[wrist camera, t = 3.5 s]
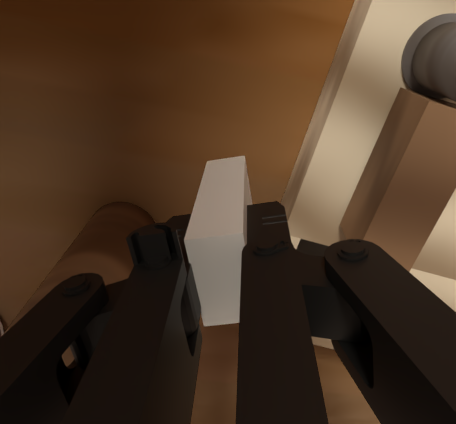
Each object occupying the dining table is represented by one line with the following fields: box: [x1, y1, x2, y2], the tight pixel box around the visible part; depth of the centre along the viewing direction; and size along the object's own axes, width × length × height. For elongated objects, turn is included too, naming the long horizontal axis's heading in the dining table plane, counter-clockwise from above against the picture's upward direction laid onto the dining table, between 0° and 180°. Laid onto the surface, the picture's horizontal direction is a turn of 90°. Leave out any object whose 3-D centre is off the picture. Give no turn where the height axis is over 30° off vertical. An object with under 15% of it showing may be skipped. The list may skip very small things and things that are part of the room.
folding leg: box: [340, 22, 456, 272], centre depth 17 cm, size 9×3×3 cm, turn 164°
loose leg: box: [0, 202, 155, 366], centre depth 19 cm, size 4×4×11 cm
